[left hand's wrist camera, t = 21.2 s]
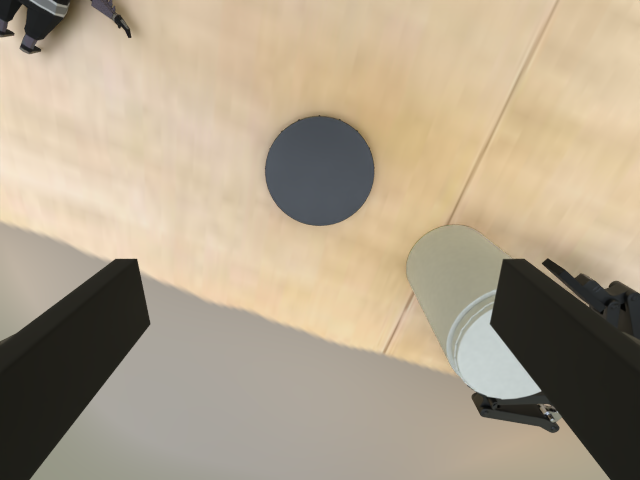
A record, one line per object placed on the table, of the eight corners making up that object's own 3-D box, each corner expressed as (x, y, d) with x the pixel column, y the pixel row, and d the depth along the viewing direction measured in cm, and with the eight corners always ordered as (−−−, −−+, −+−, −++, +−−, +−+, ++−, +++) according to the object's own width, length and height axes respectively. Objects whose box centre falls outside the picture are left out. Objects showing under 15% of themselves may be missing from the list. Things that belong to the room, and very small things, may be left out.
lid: (310, 240, 40) (310, 245, 39) (244, 161, 37) (241, 164, 35) (392, 181, 38) (395, 184, 36) (329, 91, 35) (330, 90, 33)
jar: (407, 227, 40) (458, 297, 25) (497, 222, 39) (602, 290, 25) (404, 304, 43) (447, 405, 29) (487, 300, 43) (572, 400, 28)
